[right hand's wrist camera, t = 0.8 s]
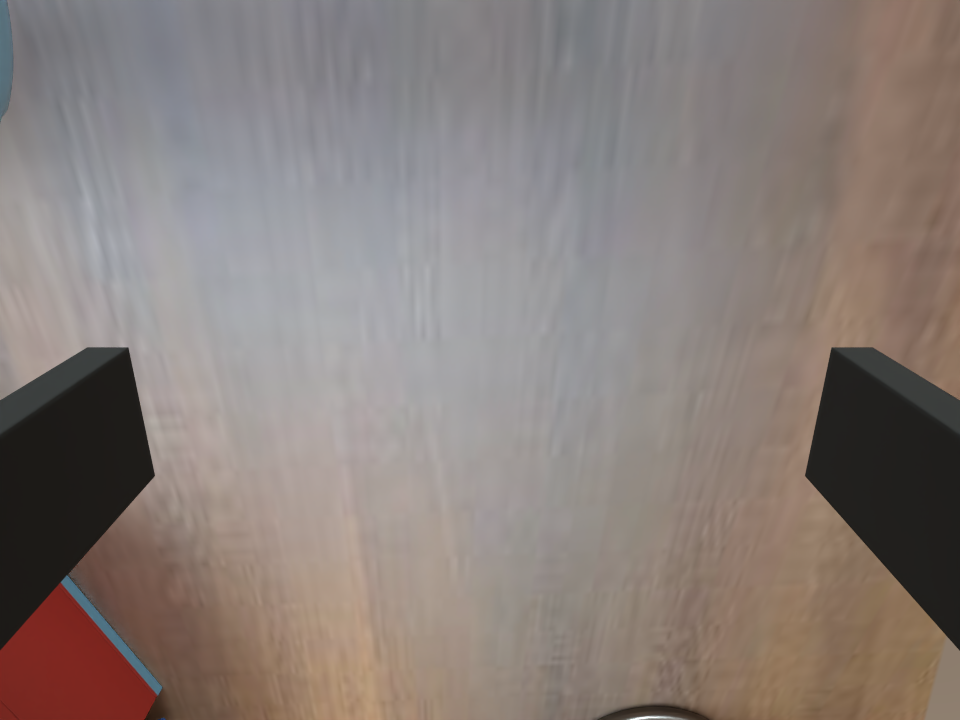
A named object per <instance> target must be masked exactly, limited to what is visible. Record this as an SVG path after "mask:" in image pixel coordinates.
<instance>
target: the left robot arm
mask: <svg viewBox="0 0 960 720" xmlns="http://www.w3.org/2000/svg"><path fill="white" fill-rule="evenodd" d="M12 78H13V43H12V31H11V23H10V16H9V10H8V5H7V0H0V122H1V117H2V116H3V115H4V114H5V113H6V111H7V109H8V105H9V100H10V95H11V88H12Z"/></svg>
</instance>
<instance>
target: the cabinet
mask: <svg viewBox="0 0 960 720" xmlns="http://www.w3.org/2000/svg"><path fill="white" fill-rule="evenodd" d="M161 689H162V686H161V685H160V684H159V683H158V682H157V680H156V679H155V678H154V677H153V676H152V674H151V673H150V672H149V671H148V670H147V669H146V667H145V666H144V665H143V664H142V663H141V662H140V660H139V659H138V658H137V657H136V656H135V654H134V653H133V652H132V651H131V650H130V649H129V647H128V646H127V645H126V644H125V643H124V642H123V640H122V639H121V638H120V637H119V636H118V634H117V633H116V632H115V631H114V630H113V629H112V627H111V626H110V625H109V624H108V623H107V622H106V620H105V619H104V618H103V617H102V616H101V614H100V613H99V612H98V611H97V610H96V609H95V607H94V606H93V605H92V604H91V603H90V602H89V600H88V599H87V598H86V597H85V596H84V594H83V593H82V592H81V591H80V590H79V589H78V587H77V586H76V585H75V584H74V583H73V582H72V580H71V579H70V578H69V577H68V576H66V577H65V578H64V579H63V580H62V581H61V582H60V584H59V585H58V586H57V587H56V588H55V589H54V590H53V592H52V593H51V594H50V595H49V596H48V597H47V598H46V599H45V601H44V602H43V603H42V604H41V605H40V606H39V607H38V608H37V610H36V611H35V612H34V613H33V614H32V615H31V616H30V617H29V619H28V620H27V621H26V622H25V623H24V624H23V625H22V627H21V628H20V629H19V630H18V631H17V632H16V633H15V634H14V636H13V637H12V638H11V639H10V640H9V641H8V642H7V643H6V645H5V646H4V647H3V648H2V649H1V650H0V720H144V719H145V718H146V716H147V714H148V712H149V710H150V708H151V707H152V705H153V703H154V701H155V698H156V697H157V696H158V695H159V693H160V691H161Z"/></svg>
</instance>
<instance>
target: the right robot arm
mask: <svg viewBox="0 0 960 720" xmlns="http://www.w3.org/2000/svg"><path fill="white" fill-rule="evenodd" d="M154 476H155V474H154V469H153V464H152V459H151V454H150V450H149V445H148V440H147V435H146V430H145V426H144V421H143V416H142V411H141V406H140V401H139V397H138V392H137V387H136V382H135V377H134V372H133V368H132V363H131V358H130V353H129V348H86V349H84V350H82V351H81V352H79V353H77V354H76V355H74V356H73V357H71V358H69V359H68V360H66V361H64V362H63V363H61V364H59V365H58V366H56V367H54V368H53V369H51V370H50V371H48V372H46V373H45V374H43V375H41V376H40V377H38V378H36V379H35V380H33V381H31V382H30V383H28V384H26V385H25V386H23V387H22V388H20V389H18V390H17V391H15V392H13V393H12V394H10V395H8V396H7V397H5V398H3V399H2V400H0V650H1V649H2V648H3V647H4V646H5V645H6V643H7V642H8V641H9V640H10V639H11V638H12V637H13V636H14V634H15V633H16V632H17V631H18V630H19V629H20V628H21V627H22V625H23V624H24V623H25V622H26V621H27V620H28V619H29V617H30V616H31V615H32V614H33V613H34V612H35V611H36V610H37V608H38V607H39V606H40V605H41V604H42V603H43V602H44V601H45V599H46V598H47V597H48V596H49V595H50V594H51V593H52V592H53V590H54V589H55V588H56V587H57V586H58V585H59V584H60V582H61V581H62V580H63V579H64V578H65V577H66V576H67V575H68V573H69V572H70V571H71V570H72V569H73V568H74V567H75V566H76V564H77V563H78V562H79V561H80V560H81V559H82V558H83V557H84V555H85V554H86V553H87V552H88V551H89V550H90V549H91V547H92V546H93V545H94V544H95V543H96V542H97V541H98V540H99V538H100V537H101V536H102V535H103V534H104V533H105V532H106V531H107V529H108V528H109V527H110V526H111V525H112V524H113V523H114V522H115V520H116V519H117V518H118V517H119V516H120V515H121V514H122V512H123V511H124V510H125V509H126V508H127V507H128V506H129V505H130V503H131V502H132V501H133V500H134V499H135V498H136V497H137V496H138V494H139V493H140V492H141V491H142V490H143V489H144V488H145V487H146V485H147V484H148V483H149V482H150V481H151V480H152V479H153V477H154ZM805 476H806V477H807V479H808V480H809V481H810V482H811V483H812V484H813V485H814V487H815V488H816V489H817V490H818V491H819V492H820V493H821V494H822V496H823V497H824V498H825V499H826V500H827V501H828V502H829V503H830V505H831V506H832V507H833V508H834V509H835V510H836V511H837V512H838V514H839V515H840V516H841V517H842V518H843V519H844V520H845V522H846V523H847V524H848V525H849V526H850V527H851V528H852V529H853V531H854V532H855V533H856V534H857V535H858V536H859V537H860V538H861V540H862V541H863V542H864V543H865V544H866V545H867V546H868V547H869V549H870V550H871V551H872V552H873V553H874V554H875V555H876V557H877V558H878V559H879V560H880V561H881V562H882V563H883V564H884V566H885V567H886V568H887V569H888V570H889V571H890V572H891V573H892V575H893V576H894V577H895V578H896V579H897V580H898V581H899V582H900V584H901V585H902V586H903V587H904V588H905V589H906V590H907V592H908V593H909V594H910V595H911V596H912V597H913V598H914V599H915V601H916V602H917V603H918V604H919V605H920V606H921V607H922V608H923V610H924V611H925V612H926V613H927V614H928V615H929V616H930V618H931V619H932V620H933V621H934V622H935V623H936V624H937V625H938V627H939V628H940V629H941V630H942V631H943V632H944V633H945V634H946V636H947V637H948V638H949V639H950V640H951V641H952V642H953V643H954V645H955V646H956V647H957V648H958V649H959V650H960V400H958V399H957V398H955V397H953V396H952V395H950V394H948V393H947V392H945V391H943V390H942V389H940V388H938V387H937V386H935V385H934V384H932V383H930V382H929V381H927V380H925V379H924V378H922V377H920V376H919V375H917V374H915V373H914V372H912V371H910V370H909V369H907V368H906V367H904V366H902V365H901V364H899V363H897V362H896V361H894V360H892V359H891V358H889V357H887V356H886V355H884V354H883V353H881V352H879V351H878V350H876V349H874V348H831V353H830V358H829V363H828V368H827V372H826V377H825V382H824V387H823V392H822V397H821V401H820V406H819V411H818V416H817V421H816V426H815V430H814V435H813V440H812V445H811V450H810V454H809V459H808V464H807V469H806V474H805ZM598 720H708V719H706V718H704V717H703V716H700V715H698V714H695V713H693V712H689V711H686V710H682V709H677V708H670V707H640V708H633V709H628V710H623V711H619V712H616V713H613V714H610V715H608V716H605V717H603V718H601V719H598Z"/></svg>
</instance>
